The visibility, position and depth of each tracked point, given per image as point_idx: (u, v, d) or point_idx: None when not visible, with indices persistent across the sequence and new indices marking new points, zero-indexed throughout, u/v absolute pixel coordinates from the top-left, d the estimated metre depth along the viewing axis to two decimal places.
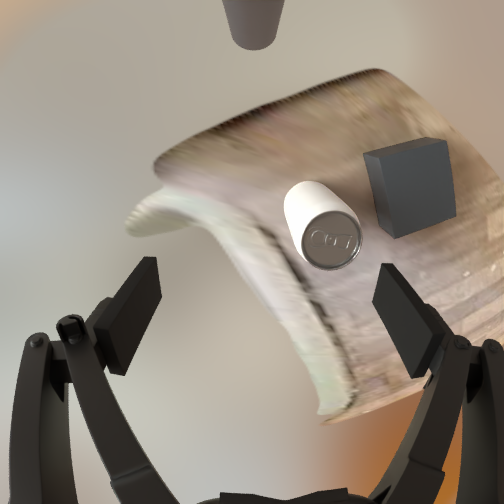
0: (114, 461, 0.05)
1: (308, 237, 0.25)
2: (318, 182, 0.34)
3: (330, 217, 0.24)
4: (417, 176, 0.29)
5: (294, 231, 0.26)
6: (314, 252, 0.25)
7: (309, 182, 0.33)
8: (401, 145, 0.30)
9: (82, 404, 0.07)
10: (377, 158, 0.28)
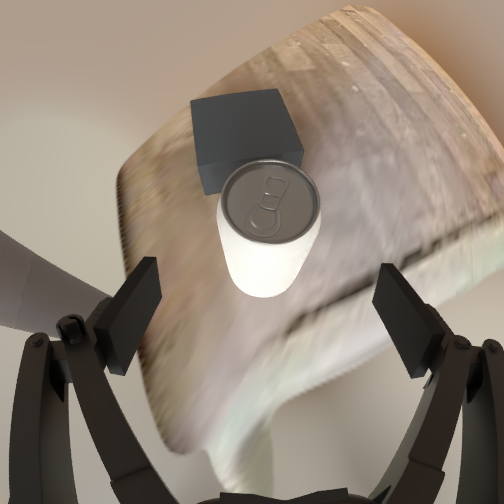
0: (114, 461, 0.05)
1: (260, 233, 0.16)
2: None
3: (233, 200, 0.16)
4: (226, 127, 0.27)
5: (256, 259, 0.16)
6: (288, 226, 0.16)
7: None
8: None
9: (82, 404, 0.07)
10: (199, 169, 0.26)
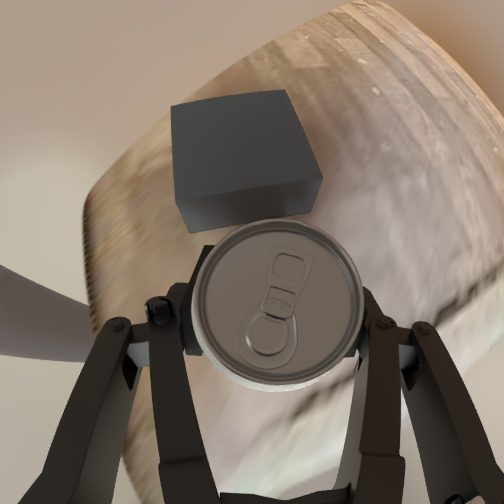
0: (170, 445, 0.06)
1: (263, 362, 0.09)
2: None
3: (215, 299, 0.09)
4: (216, 143, 0.20)
5: (255, 389, 0.09)
6: (309, 348, 0.09)
7: None
8: None
9: (153, 384, 0.08)
10: (178, 204, 0.19)
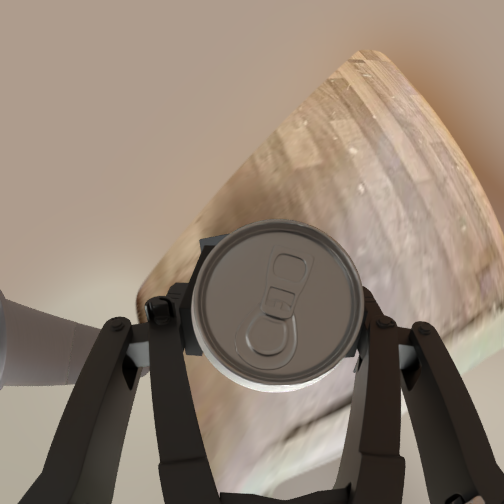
0: (169, 445, 0.06)
1: (263, 363, 0.09)
2: None
3: (215, 300, 0.09)
4: None
5: (255, 389, 0.09)
6: (309, 349, 0.09)
7: None
8: None
9: (153, 384, 0.08)
10: None
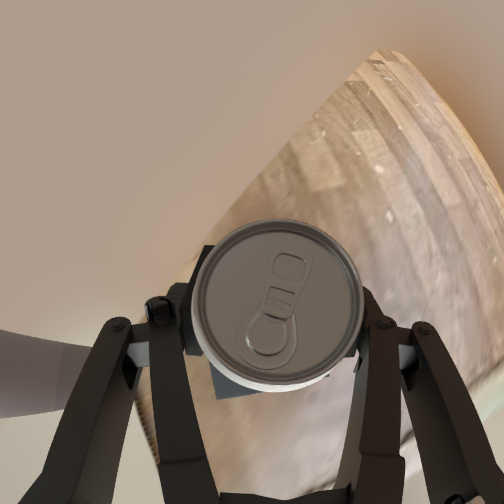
0: (170, 445, 0.06)
1: (263, 362, 0.09)
2: None
3: (215, 299, 0.09)
4: None
5: (255, 389, 0.09)
6: (309, 349, 0.09)
7: None
8: None
9: (153, 384, 0.08)
10: None
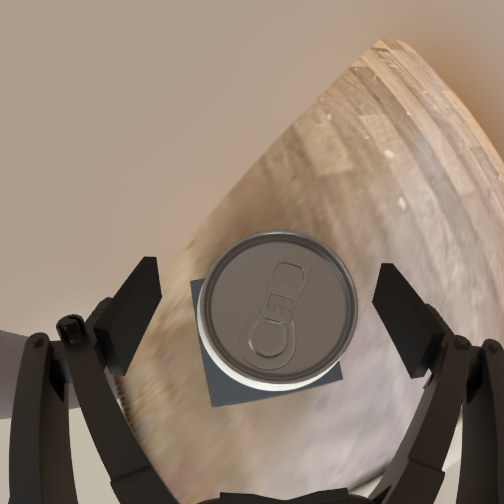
0: (114, 461, 0.05)
1: (264, 363, 0.09)
2: None
3: (220, 305, 0.10)
4: None
5: (257, 388, 0.10)
6: (306, 351, 0.10)
7: None
8: None
9: (82, 404, 0.07)
10: None
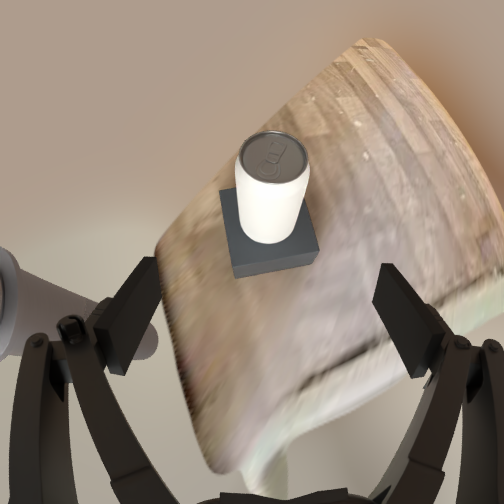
0: (114, 461, 0.05)
1: (267, 177, 0.22)
2: None
3: (247, 157, 0.23)
4: None
5: (264, 196, 0.23)
6: (285, 173, 0.22)
7: None
8: None
9: (82, 404, 0.07)
10: (233, 268, 0.32)
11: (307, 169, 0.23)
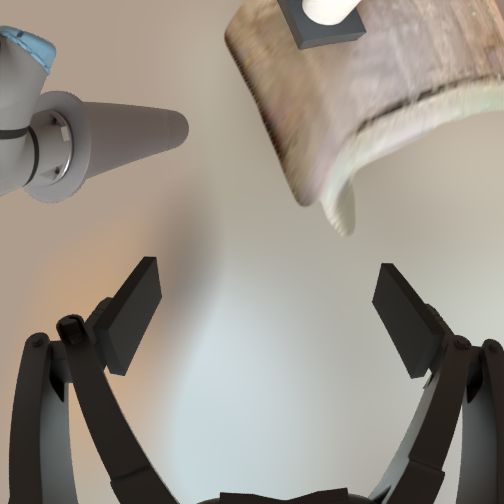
0: (114, 461, 0.05)
1: None
2: None
3: None
4: None
5: None
6: None
7: (303, 3, 0.28)
8: (288, 21, 0.33)
9: (82, 404, 0.07)
10: (303, 42, 0.32)
11: None
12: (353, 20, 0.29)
